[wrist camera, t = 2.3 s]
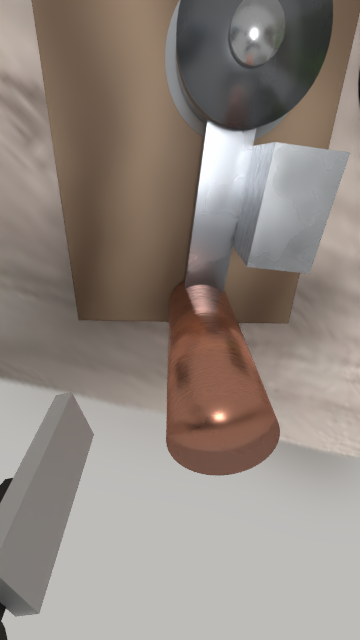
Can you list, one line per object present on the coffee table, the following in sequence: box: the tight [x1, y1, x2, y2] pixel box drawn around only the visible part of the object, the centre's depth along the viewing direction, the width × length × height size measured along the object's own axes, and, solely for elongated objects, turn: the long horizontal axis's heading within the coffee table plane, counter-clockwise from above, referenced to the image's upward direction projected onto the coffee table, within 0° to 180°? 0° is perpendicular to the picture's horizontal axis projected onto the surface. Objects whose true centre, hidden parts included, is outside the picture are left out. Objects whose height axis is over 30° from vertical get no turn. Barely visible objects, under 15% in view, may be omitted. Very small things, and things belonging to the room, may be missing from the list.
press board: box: [32, 0, 360, 323], centre depth 18 cm, size 15×18×2 cm
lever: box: [166, 0, 350, 475], centre depth 12 cm, size 18×7×11 cm, turn 173°
